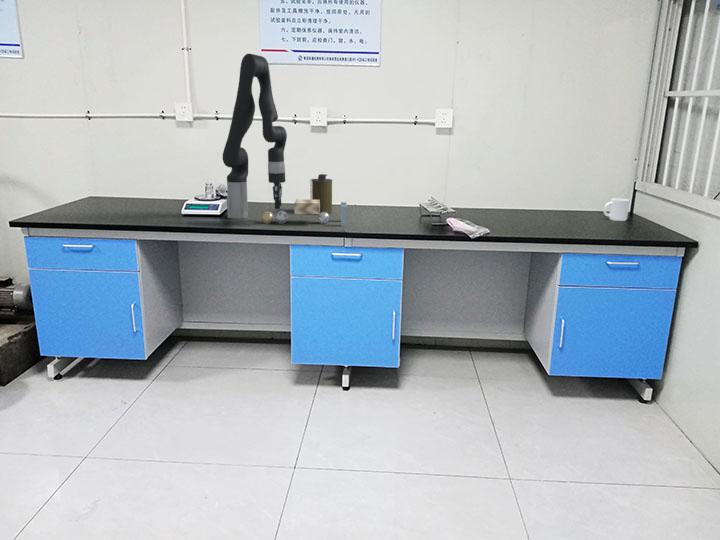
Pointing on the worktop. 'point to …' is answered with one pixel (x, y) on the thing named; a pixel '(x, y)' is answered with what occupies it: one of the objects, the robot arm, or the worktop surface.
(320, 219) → the translucent grey ball
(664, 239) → the worktop surface
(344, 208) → the post
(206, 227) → the worktop surface
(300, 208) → the slab
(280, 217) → the mottled grey ball
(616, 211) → the mug
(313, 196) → the canister
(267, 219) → the olive tan ovoid
